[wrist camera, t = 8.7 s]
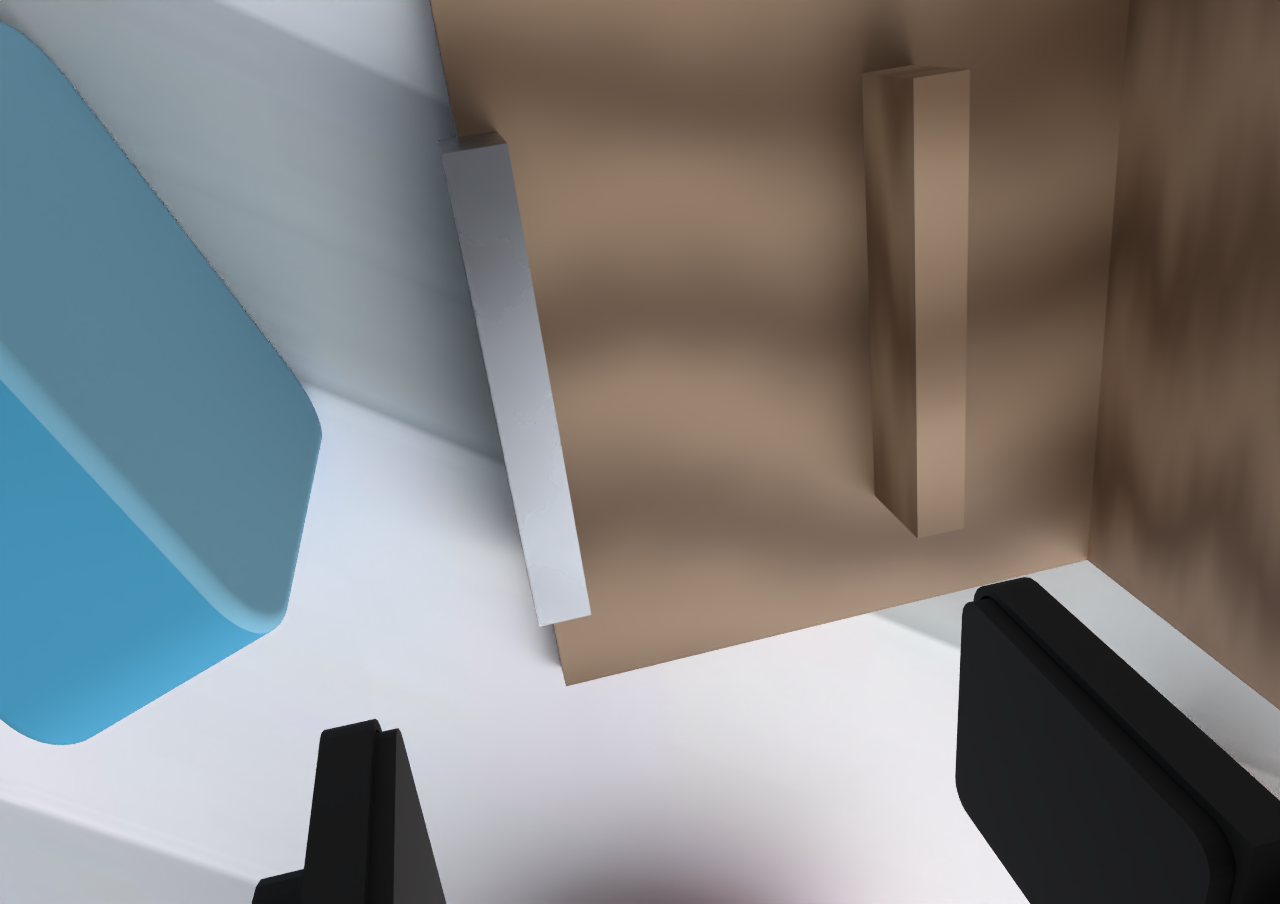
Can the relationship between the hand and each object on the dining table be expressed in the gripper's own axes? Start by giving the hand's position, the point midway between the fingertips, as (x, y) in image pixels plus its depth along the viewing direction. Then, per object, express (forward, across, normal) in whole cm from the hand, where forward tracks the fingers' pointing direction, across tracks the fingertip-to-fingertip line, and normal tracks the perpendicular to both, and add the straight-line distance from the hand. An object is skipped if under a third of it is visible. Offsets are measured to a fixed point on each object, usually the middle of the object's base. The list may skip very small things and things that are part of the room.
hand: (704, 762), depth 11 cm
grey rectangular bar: (+19, +1, +2) cm, 19 cm away
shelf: (+19, -10, +1) cm, 22 cm away
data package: (+20, +10, -2) cm, 22 cm away
